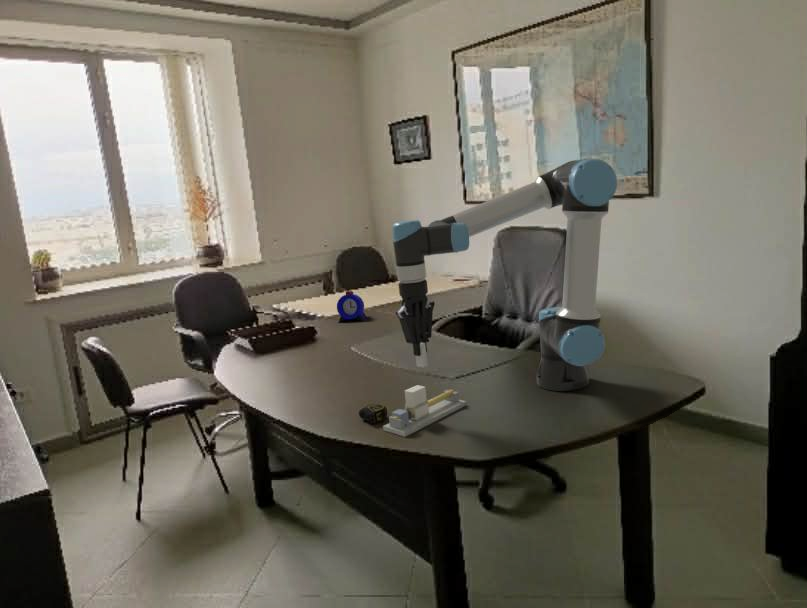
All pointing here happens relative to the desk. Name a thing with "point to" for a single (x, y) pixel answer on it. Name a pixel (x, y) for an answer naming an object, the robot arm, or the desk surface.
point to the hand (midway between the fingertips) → (422, 366)
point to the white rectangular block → (417, 401)
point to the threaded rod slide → (437, 410)
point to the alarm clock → (350, 307)
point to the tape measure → (373, 413)
